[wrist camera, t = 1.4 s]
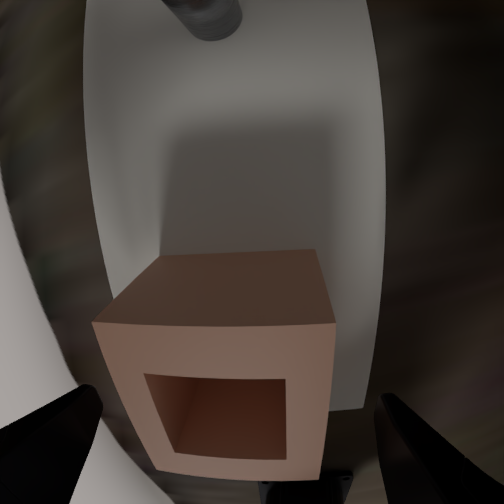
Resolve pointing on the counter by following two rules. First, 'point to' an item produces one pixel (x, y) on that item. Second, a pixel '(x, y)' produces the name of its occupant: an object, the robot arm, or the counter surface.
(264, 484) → the robot arm
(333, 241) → the base plate
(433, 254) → the counter surface
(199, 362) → the pink hollow square block
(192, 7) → the steel pin
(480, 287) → the counter surface
